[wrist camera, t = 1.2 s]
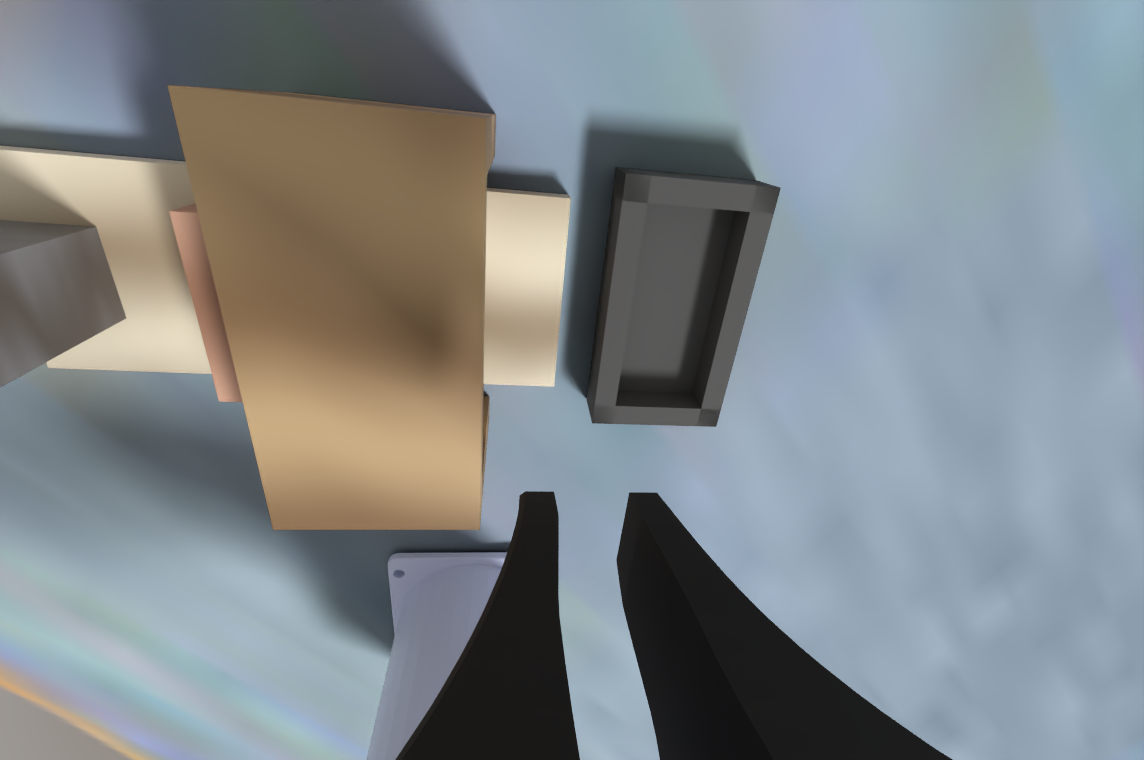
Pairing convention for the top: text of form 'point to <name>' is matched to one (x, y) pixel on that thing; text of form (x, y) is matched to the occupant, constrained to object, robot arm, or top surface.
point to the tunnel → (350, 298)
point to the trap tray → (674, 294)
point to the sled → (208, 272)
